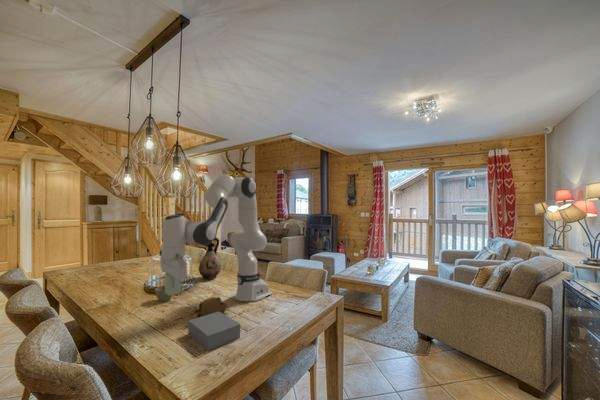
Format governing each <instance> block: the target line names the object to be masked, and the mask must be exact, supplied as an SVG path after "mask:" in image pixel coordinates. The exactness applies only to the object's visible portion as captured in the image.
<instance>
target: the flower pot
mask: <svg viewBox="0 0 600 400" xmlns="http://www.w3.org/2000/svg"><path fill="white" fill-rule="evenodd" d="M154 293H155V295H156V298H157V299H158V300H159V302H161V303H166V302H169V301H170V300H171V299H172V297H173V295H167V294H166V293H165V285H162V286H158V287H156V288H154Z"/></svg>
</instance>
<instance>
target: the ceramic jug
mask: <svg viewBox="0 0 600 400" xmlns="http://www.w3.org/2000/svg"><path fill="white" fill-rule="evenodd" d="M214 242H216V244H214ZM219 244H220V240H219V238H218V237H215V239H214V240H213V242H212V243H210V244H209V245H202V246H205V247H207V251H206V253H204V255H203V257H202V258H201V259H200V261H199V264H198V265H199V266H198V272H199V274H200V275H201V277H202V280H205V281H210V279H211V280H214V278H215V279H216V278H217V276H218V275H219V274H220V271H221V269H222V267H221V261H220V259H219V257H218V254H217V253H218V252H217V251H218V247H219V246H220V245H219Z"/></svg>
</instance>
